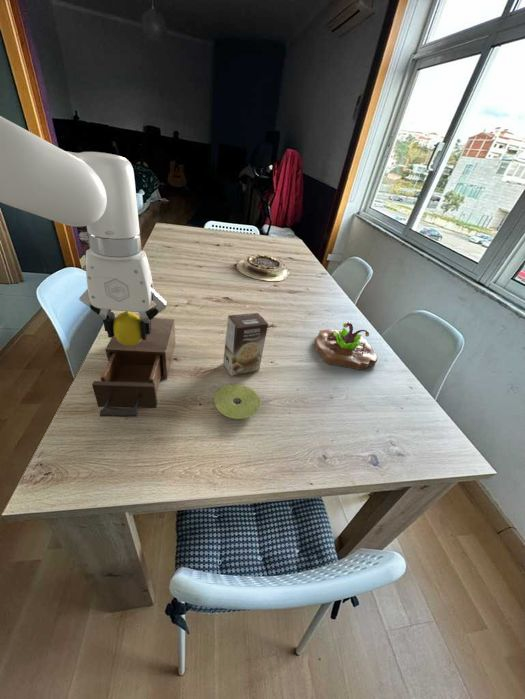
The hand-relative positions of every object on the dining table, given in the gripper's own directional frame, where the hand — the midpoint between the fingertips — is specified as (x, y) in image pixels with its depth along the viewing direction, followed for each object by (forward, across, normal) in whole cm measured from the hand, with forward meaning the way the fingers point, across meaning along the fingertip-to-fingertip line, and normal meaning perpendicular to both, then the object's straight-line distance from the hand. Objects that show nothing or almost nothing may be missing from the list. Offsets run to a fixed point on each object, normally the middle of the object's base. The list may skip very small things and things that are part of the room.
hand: (129, 334), depth 58 cm
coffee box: (+19, +25, +15) cm, 35 cm away
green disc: (+19, +23, 0) cm, 30 cm away
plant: (+19, +60, +26) cm, 68 cm away
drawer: (+18, -2, +2) cm, 19 cm away
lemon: (+3, 0, 0) cm, 3 cm away
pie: (+19, +38, +92) cm, 102 cm away
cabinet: (+19, -2, +16) cm, 25 cm away
